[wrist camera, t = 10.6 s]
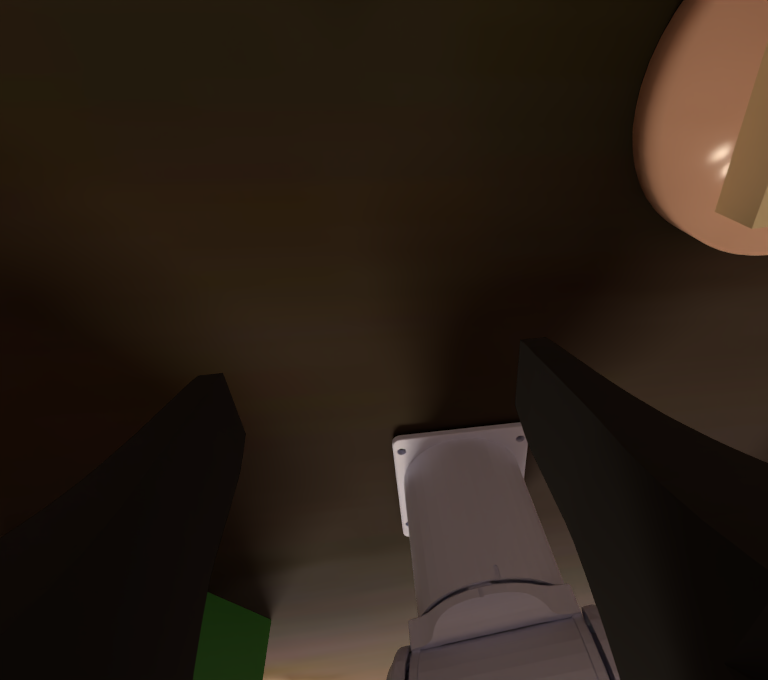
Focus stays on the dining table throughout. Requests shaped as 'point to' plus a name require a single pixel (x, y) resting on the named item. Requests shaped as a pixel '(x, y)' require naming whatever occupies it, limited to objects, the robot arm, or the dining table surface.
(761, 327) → the dining table surface
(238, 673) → the hardback book
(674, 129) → the tan rounded piece
